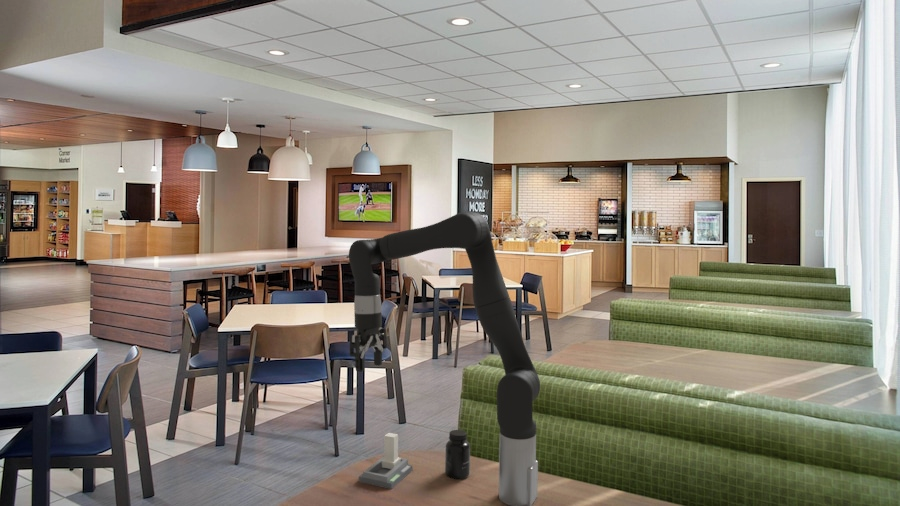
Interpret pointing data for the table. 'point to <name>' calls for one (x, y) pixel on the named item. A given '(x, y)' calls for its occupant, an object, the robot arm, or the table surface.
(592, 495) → the table surface
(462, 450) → the supplement bottle
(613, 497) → the table surface
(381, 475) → the grey slotted stand
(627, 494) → the table surface
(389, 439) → the block
